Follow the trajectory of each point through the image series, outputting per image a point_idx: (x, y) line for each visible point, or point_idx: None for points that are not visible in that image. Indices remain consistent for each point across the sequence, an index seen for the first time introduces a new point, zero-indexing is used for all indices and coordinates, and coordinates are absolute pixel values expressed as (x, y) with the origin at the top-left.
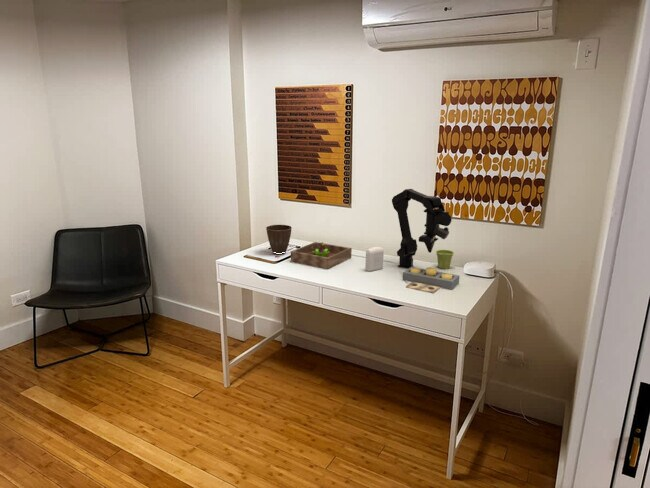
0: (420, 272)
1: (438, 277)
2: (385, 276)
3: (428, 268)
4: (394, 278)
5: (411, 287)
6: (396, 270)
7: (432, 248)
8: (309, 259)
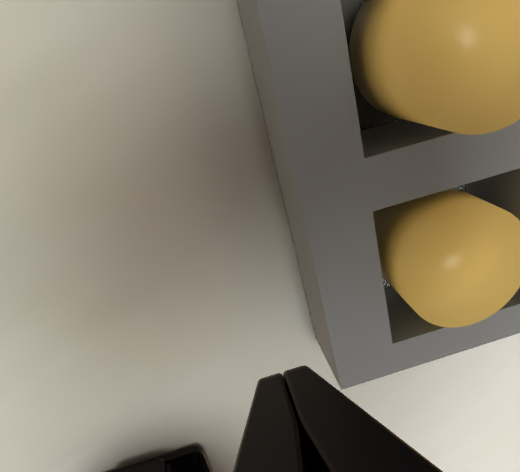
0: (435, 202)
1: None
2: (510, 411)
3: (493, 92)
4: (513, 341)
5: None
6: None
7: (234, 470)
8: None
